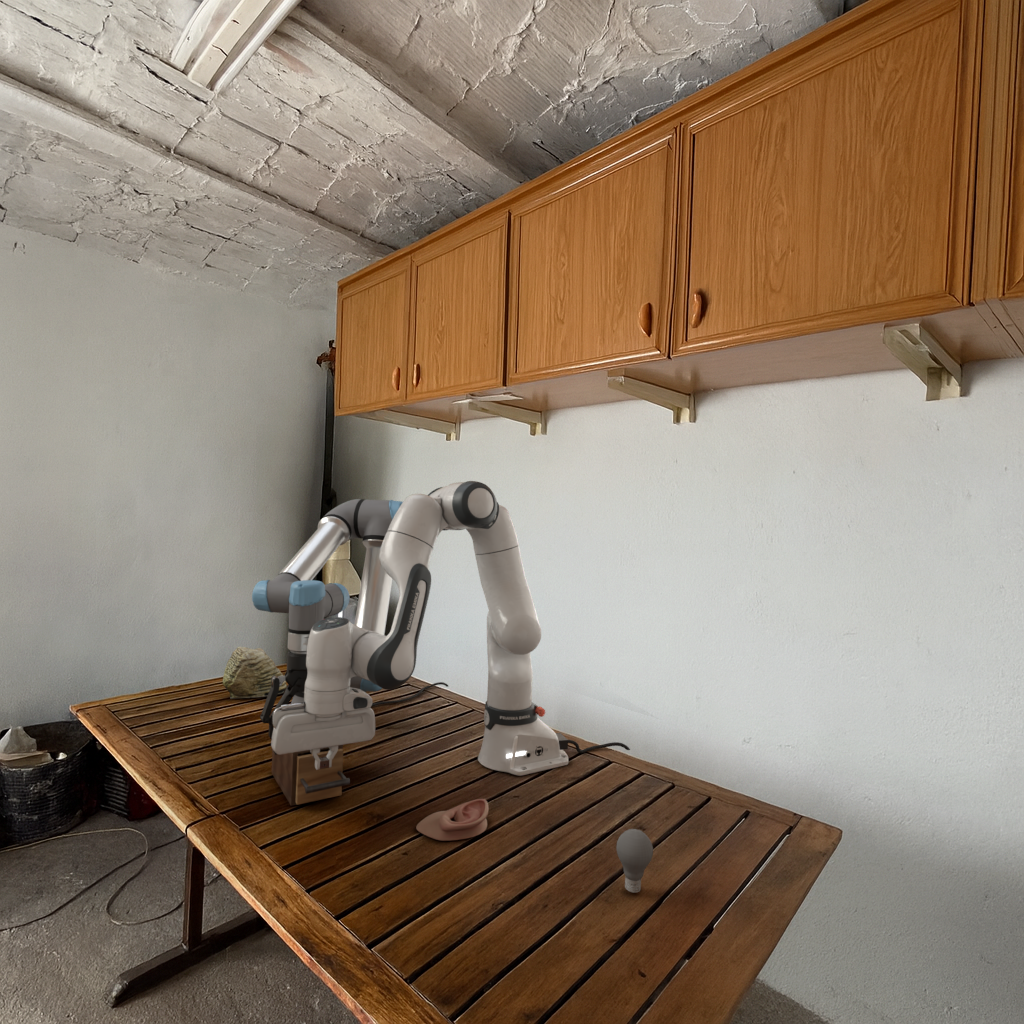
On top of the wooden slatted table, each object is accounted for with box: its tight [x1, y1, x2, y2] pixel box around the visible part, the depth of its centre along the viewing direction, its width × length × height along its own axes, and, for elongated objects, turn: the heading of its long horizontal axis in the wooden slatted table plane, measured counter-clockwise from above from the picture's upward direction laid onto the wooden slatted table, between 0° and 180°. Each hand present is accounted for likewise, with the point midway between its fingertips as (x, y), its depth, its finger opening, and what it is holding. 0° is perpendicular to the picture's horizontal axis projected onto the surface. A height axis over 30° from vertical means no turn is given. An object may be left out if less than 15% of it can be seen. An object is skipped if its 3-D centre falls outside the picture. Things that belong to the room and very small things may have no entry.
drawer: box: [296, 748, 351, 806], centre depth 135 cm, size 22×9×10 cm, turn 33°
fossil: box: [222, 646, 288, 699], centre depth 198 cm, size 9×18×15 cm, turn 132°
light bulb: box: [615, 828, 654, 894], centre depth 106 cm, size 6×6×10 cm
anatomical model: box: [415, 798, 489, 842], centre depth 124 cm, size 13×4×12 cm
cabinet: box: [271, 745, 344, 807], centre depth 139 cm, size 18×10×12 cm, turn 33°
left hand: (301, 747), depth 143 cm, fingers closed on cabinet, 10 cm apart
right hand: (323, 767), depth 128 cm, fingers closed
